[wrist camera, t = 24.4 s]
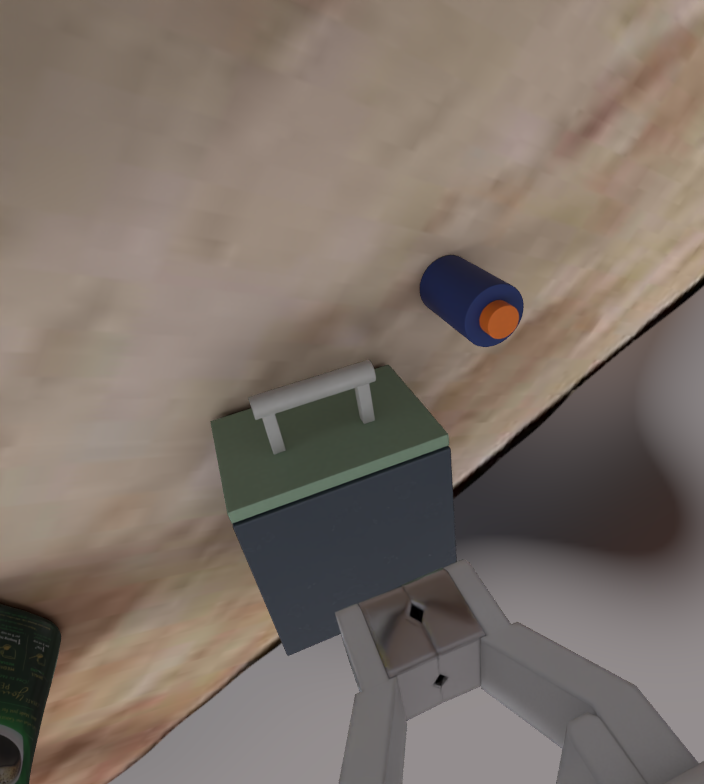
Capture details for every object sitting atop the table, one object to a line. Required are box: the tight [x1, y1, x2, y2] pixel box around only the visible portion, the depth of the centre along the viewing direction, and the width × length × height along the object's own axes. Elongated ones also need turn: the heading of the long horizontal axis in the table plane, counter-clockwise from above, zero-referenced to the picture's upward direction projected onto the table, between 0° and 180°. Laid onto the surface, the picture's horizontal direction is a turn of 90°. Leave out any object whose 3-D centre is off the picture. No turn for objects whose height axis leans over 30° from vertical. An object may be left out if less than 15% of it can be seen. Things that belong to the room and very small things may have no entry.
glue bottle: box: [420, 255, 523, 347], centre depth 34 cm, size 4×4×7 cm
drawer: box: [211, 360, 449, 523], centre depth 35 cm, size 18×14×9 cm
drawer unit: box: [232, 446, 457, 656], centre depth 37 cm, size 14×14×10 cm
